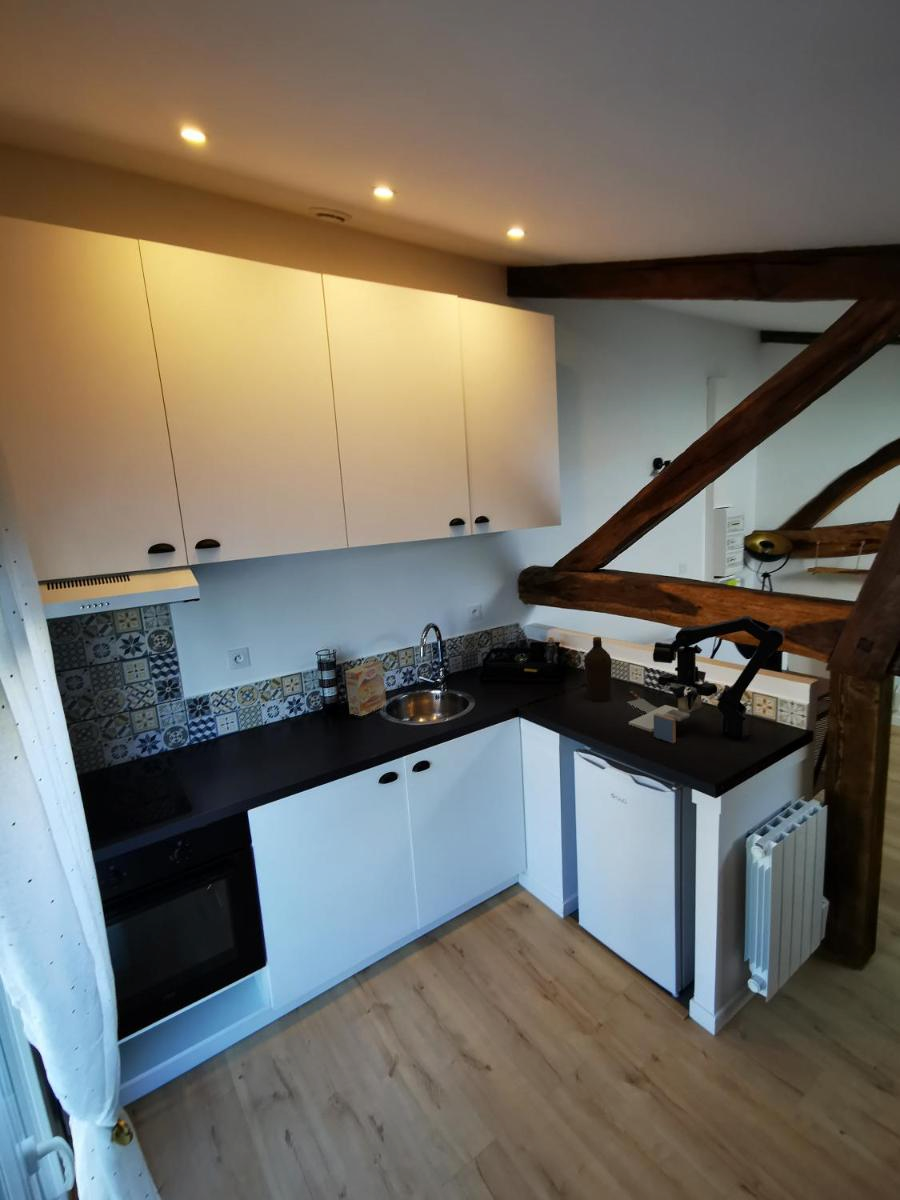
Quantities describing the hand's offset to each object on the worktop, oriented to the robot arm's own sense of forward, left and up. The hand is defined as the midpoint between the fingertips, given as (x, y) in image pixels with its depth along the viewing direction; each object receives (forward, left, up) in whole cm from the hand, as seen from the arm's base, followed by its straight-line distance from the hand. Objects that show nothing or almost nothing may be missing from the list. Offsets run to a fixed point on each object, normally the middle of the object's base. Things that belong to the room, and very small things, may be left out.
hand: (686, 708), depth 191 cm
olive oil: (+40, -3, -7) cm, 41 cm away
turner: (0, 0, -1) cm, 1 cm away
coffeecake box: (+98, +71, -7) cm, 121 cm away
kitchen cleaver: (+25, -8, -8) cm, 28 cm away
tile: (0, +13, -7) cm, 15 cm away
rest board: (+11, 0, -7) cm, 13 cm away
